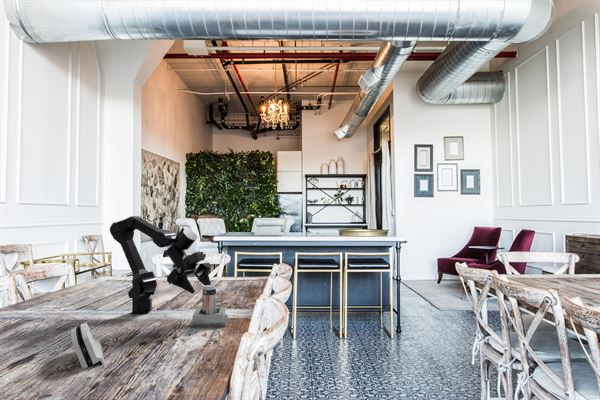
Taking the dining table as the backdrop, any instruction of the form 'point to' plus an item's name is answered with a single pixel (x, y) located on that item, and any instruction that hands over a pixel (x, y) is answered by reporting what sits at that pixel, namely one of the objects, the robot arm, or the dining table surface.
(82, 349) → the grey grooved device
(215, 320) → the rail block
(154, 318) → the dining table surface
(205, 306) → the labelled cylindrical container
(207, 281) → the robot arm
